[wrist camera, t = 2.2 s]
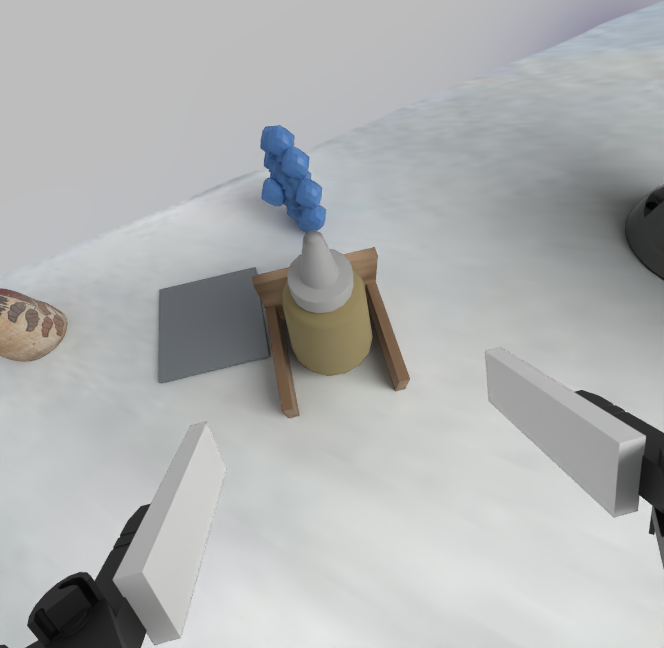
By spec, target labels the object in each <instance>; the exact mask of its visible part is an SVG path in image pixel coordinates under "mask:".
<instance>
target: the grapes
mask: <svg viewBox="0 0 664 648" xmlns="http://www.w3.org/2000/svg"><path fill="white" fill-rule="evenodd" d="M261 149H262V150H264V151H265V159H264V166H265V167H266V168H267V169H269V172H271V174H270V178H267V179H266V180H265V181H264V184H263V189H262V199H263V200H265V201H266V202H268V203H270V204H272V205H274V206H281V205H282V204H284V205H286V206H287V214H288V215H289V216H291V217H292V218H294V219H296V220H298V227H299V228H301V229H303V230H305V231H307V232H310V231H317V230H319V229H320V228H321V227H322V226H323V225H324V222H325V214H326V209H324V208H323V207H322V206H320V205H319V204H320V201H321V195H322V187H321V186H320V185H318V184H317V183H316V182H314V181H312V180H311V173H309V172H308V168H309V156H307V155H306V154H305V153H304V152H303V151H301V150H300V149H298V148H296V147H294V135H293V134H291V133H290V132H289V131H288V130H287V129H286V128H284V127H282V126H280V125H279V126H268V127H265V128H264V130H263V131H262V137H261Z"/></svg>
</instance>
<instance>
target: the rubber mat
mask: <svg viewBox="0 0 664 648" xmlns="http://www.w3.org/2000/svg"><path fill="white" fill-rule="evenodd" d="M255 275H257V272H256V268H255V267H254V268H250V269H246V270H241V271H237V272H233V273H229V274H224V275H220V276H216V277H212V278H207V279H203V280H199V281H195V282H191V283H186V284H182V285H178V286H174V287H169V288H165V289H161V290H160V296H159V382H160V383H165V382H169V381H173V380H177V379H181V378H185V377H189V376H193V375H197V374H201V373H206V372H210V371H214V370H218V369H222V368H226V367H230V366H234V365H238V364H242V363H246V362H250V361H254V360H258V359H262V358H266V357H270V355H269V348H268V342H267V336H266V329H265V323H264V316H263V310H262V304H261V299H260V297H259V295H258V293H257V291H256V290H255V288H254V286H253V281H252V276H255Z"/></svg>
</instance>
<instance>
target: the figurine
mask: <svg viewBox="0 0 664 648" xmlns="http://www.w3.org/2000/svg"><path fill="white" fill-rule="evenodd" d="M66 327H67V319H66V317H65V315H64V314H63V313H62V312H61V311H59V310H57V309H56V308H54V307H53V306H51V305H49V304H47V303H45V302H41V301H37V300H35V299H32V298H30V297H28V296H25V295H23V294H21V293H18V292H15V291H11V290H7V289H0V356H2V357H5V358H8V359H12V360H16V361H33V360H36V359H40V358H41V357H43V356H45V355H47V354H48V353H49V352H51V351H52V350H53V349H54V348H56V346H57V345H58V344H59V343H60V342H61V340H62V339H63V337H64V335H65V332H66Z"/></svg>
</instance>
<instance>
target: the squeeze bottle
mask: <svg viewBox="0 0 664 648" xmlns="http://www.w3.org/2000/svg"><path fill="white" fill-rule="evenodd" d="M282 300H283V309H284V314H285V318H286V323H287V327H288V332H289V336H290V341H291V345H292V349H293V351H294V353H295V355H296V357H297V358H298V360H299V362H300V363H301V364H303V365H304V366H305V367H307V368H308V369H309V370H311V371H312V372H315V373H320V374H324V375H328V376H330V375H337V374H344V373H346V372H348V371H350V370H352V369H353V368H355V367H357V366H358V365H360V364H361V362H362V361H363V360H364V358H365V357H366V356H367V354H368V353H369V351H370V347H371V342H372V338H373V337H372V330H371V324H370V317H369V311H368V305H367V298H366V293H365V288H364V283H363V280H362V279H361V277H360V276H359V275H358V273H357V272H356V271H355V269H353V268H352V266H351V264H350V262H349V261H348V260H347V258H346V257H345V256H344V255H342V254H341V253H339V252H337V251H335V250H331V249H329V248H328V246H327V244H326V242H325V240H324V238H323V236H322V235H321V233H319V232H318V231H310V232H308V233H306V234H305V235H304V238H303V248H302V254H301V255H299V256H298V257H297V258H296V259H295V260H294V261H293V262H292V263H291V265H290V268H289V270H288V273H287V281H286V284H285V286H284V289H283V291H282Z"/></svg>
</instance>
